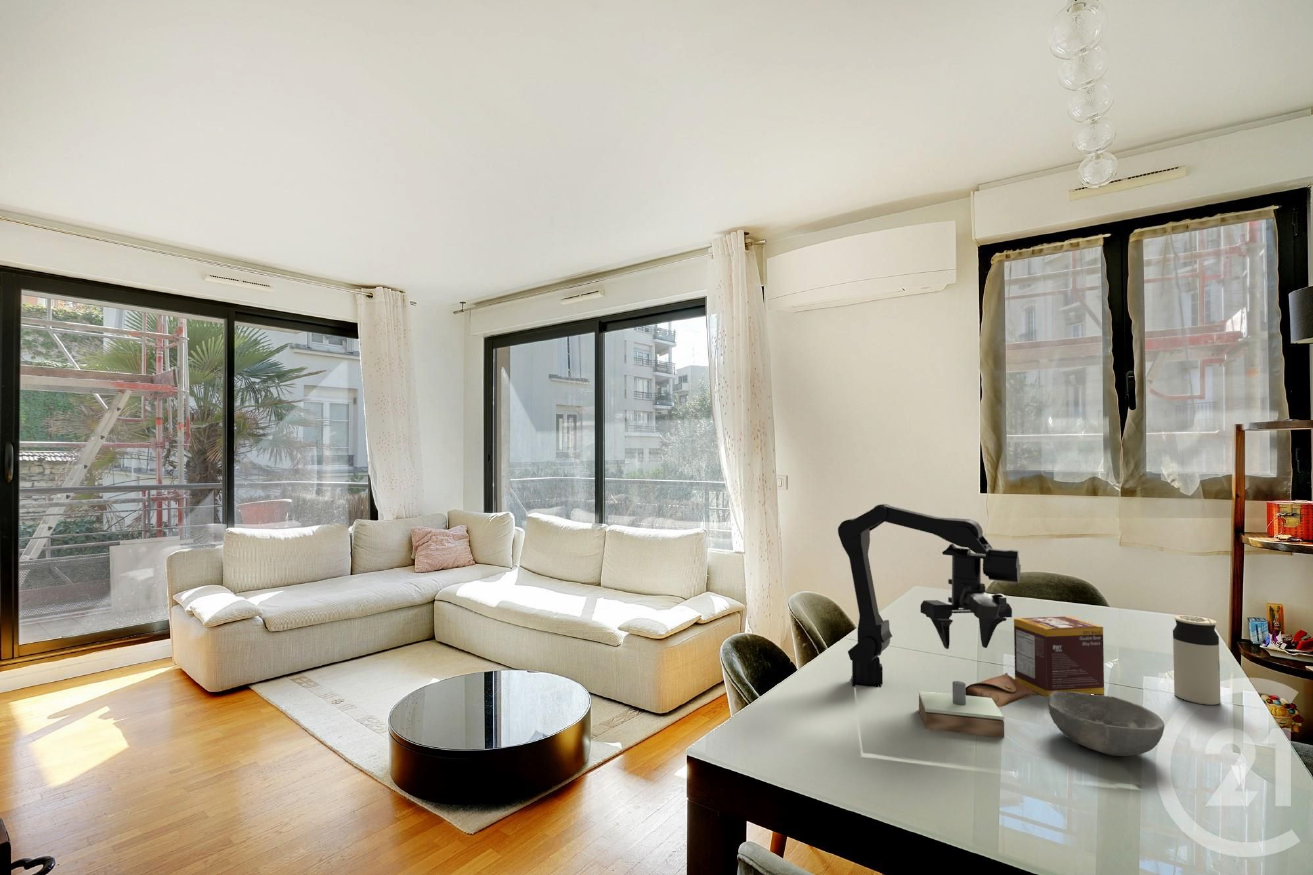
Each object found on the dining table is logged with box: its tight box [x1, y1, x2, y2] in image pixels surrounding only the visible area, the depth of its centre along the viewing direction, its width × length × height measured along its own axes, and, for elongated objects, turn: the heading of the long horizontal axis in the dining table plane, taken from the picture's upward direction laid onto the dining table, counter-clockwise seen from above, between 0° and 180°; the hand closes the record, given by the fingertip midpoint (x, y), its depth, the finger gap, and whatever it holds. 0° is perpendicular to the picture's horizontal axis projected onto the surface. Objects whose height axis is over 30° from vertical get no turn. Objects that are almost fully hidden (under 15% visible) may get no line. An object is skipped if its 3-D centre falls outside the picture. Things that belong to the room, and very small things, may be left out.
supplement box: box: [1013, 615, 1105, 698], centre depth 150 cm, size 10×15×16 cm
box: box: [918, 695, 1005, 738], centre depth 128 cm, size 14×10×4 cm
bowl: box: [1047, 691, 1165, 757], centre depth 118 cm, size 18×18×8 cm
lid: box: [918, 680, 1005, 721], centre depth 128 cm, size 14×10×5 cm
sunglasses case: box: [966, 672, 1039, 708], centre depth 144 cm, size 18×7×7 cm
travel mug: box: [1172, 614, 1222, 706], centre depth 143 cm, size 8×8×18 cm
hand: (965, 647), depth 139 cm, fingers open, 9 cm apart
